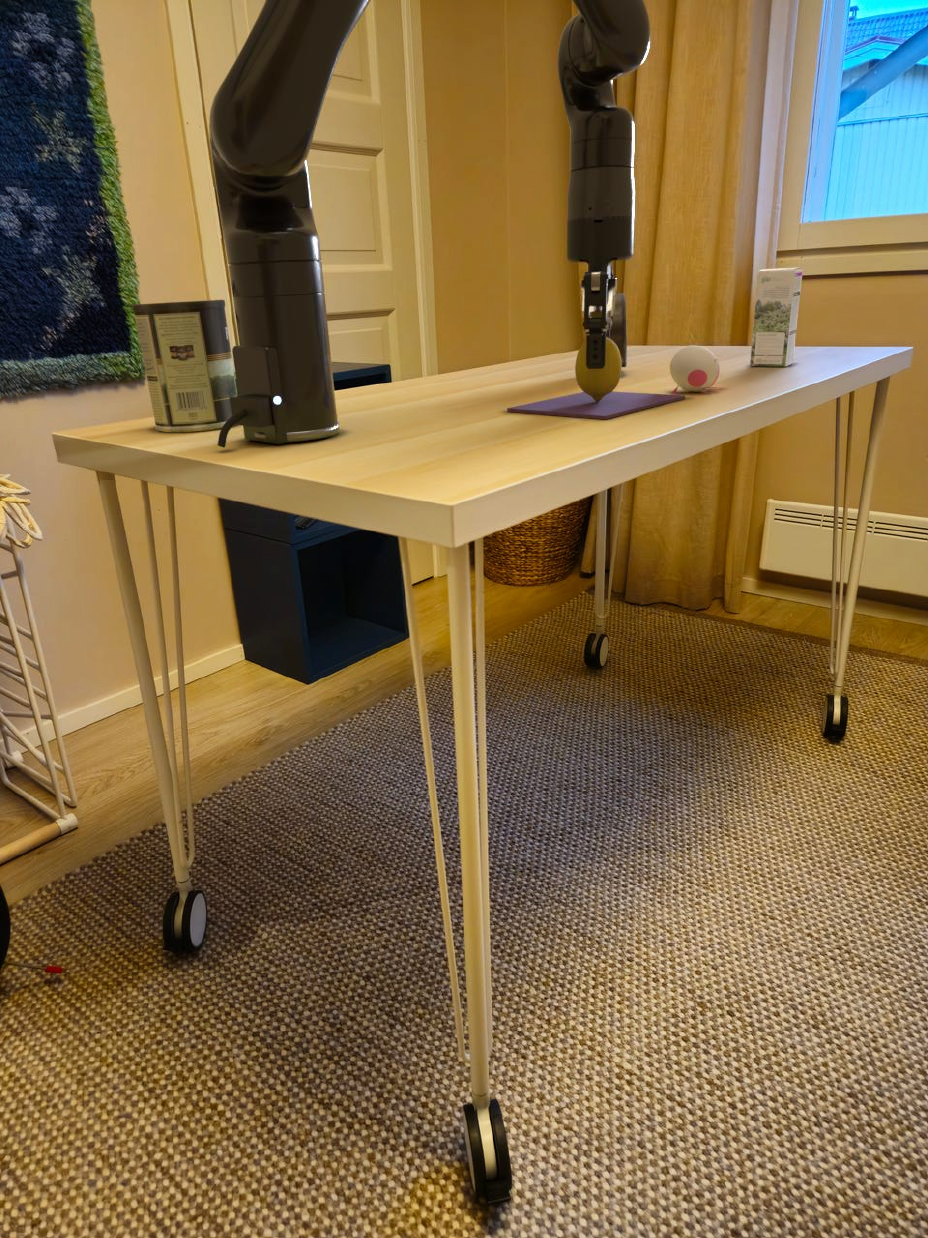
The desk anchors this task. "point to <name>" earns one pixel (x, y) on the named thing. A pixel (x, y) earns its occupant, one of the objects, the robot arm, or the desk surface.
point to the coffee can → (187, 363)
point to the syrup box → (775, 316)
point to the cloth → (596, 404)
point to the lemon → (599, 372)
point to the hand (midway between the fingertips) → (597, 364)
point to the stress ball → (694, 368)
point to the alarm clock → (619, 326)
